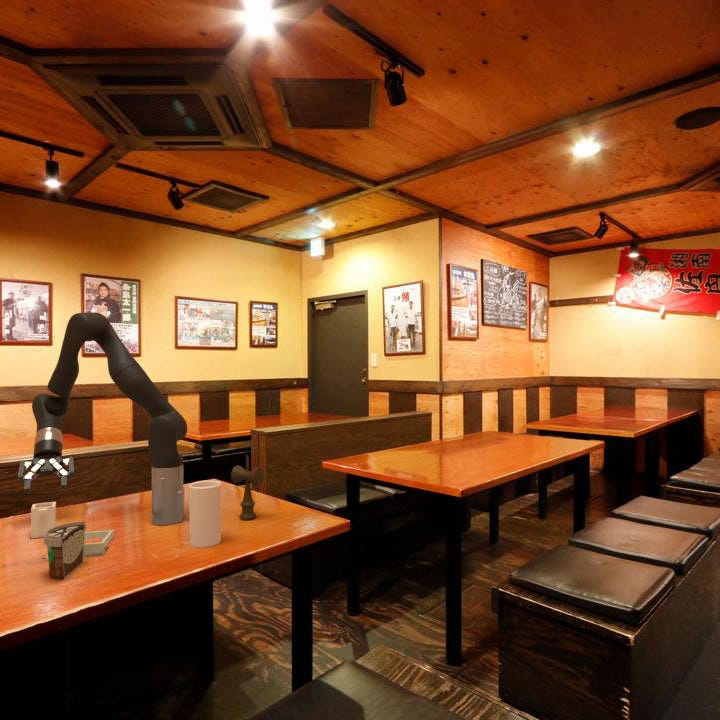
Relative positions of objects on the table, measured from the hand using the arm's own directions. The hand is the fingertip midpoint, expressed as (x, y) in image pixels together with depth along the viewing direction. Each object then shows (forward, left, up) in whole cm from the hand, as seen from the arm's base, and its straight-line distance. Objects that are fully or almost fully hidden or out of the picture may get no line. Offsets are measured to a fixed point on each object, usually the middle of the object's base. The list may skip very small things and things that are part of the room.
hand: (45, 490), depth 148 cm
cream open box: (-2, +7, -11) cm, 13 cm away
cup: (-46, +20, -12) cm, 52 cm away
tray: (-16, +19, -12) cm, 28 cm away
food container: (-15, +32, -12) cm, 38 cm away
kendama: (-58, +1, -12) cm, 59 cm away
